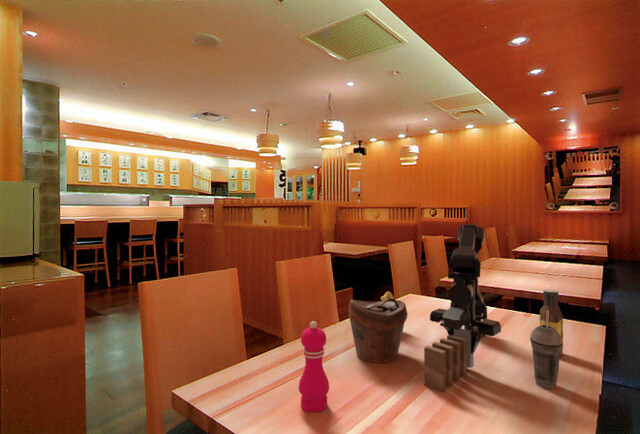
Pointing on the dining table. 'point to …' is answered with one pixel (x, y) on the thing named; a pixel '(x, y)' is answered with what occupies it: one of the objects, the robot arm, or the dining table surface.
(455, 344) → the domino
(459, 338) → the domino
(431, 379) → the domino
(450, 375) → the domino
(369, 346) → the brown wooden tapered container
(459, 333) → the domino
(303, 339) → the pepper mill
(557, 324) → the sauce bottle
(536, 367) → the beverage cup
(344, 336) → the dining table surface
